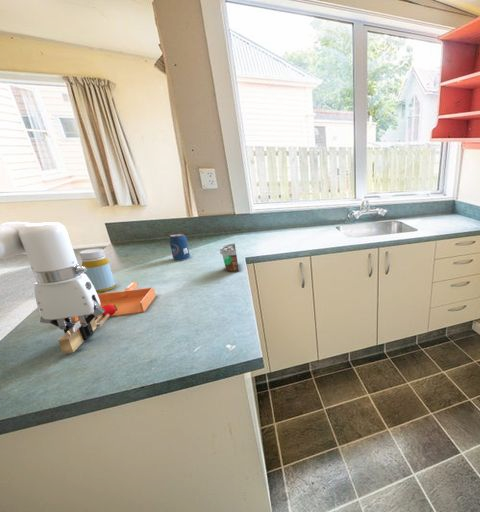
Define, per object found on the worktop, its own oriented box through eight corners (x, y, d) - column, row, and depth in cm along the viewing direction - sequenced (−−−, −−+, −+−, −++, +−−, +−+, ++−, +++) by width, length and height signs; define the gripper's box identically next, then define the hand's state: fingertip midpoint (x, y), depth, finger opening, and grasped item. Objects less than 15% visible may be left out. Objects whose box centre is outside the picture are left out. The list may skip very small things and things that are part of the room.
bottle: (116, 284, 114) (104, 246, 109) (115, 290, 109) (104, 251, 104) (91, 288, 110) (78, 250, 105) (89, 295, 105) (76, 255, 100)
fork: (58, 355, 72) (53, 341, 70) (95, 318, 88) (91, 306, 86) (78, 351, 73) (72, 337, 72) (110, 315, 89) (106, 304, 88)
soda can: (169, 260, 141) (164, 235, 138) (183, 256, 148) (178, 232, 144) (180, 261, 139) (175, 237, 136) (193, 257, 146) (189, 233, 142)
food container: (223, 265, 135) (219, 244, 131) (237, 263, 137) (234, 243, 134) (223, 274, 124) (219, 252, 121) (239, 272, 127) (235, 250, 124)
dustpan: (144, 312, 94) (141, 302, 93) (74, 322, 87) (70, 312, 86) (163, 285, 113) (161, 277, 112) (107, 292, 107) (105, 283, 106)
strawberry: (96, 308, 89) (111, 303, 92) (101, 318, 90) (116, 313, 93) (100, 307, 87) (115, 302, 91) (105, 317, 88) (120, 312, 91)
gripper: (106, 265, 78) (124, 325, 84) (25, 272, 73) (50, 337, 78) (92, 275, 72) (113, 340, 77) (1, 284, 66) (31, 353, 72)
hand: (81, 338), depth 78 cm, fingers closed on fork, 2 cm apart
